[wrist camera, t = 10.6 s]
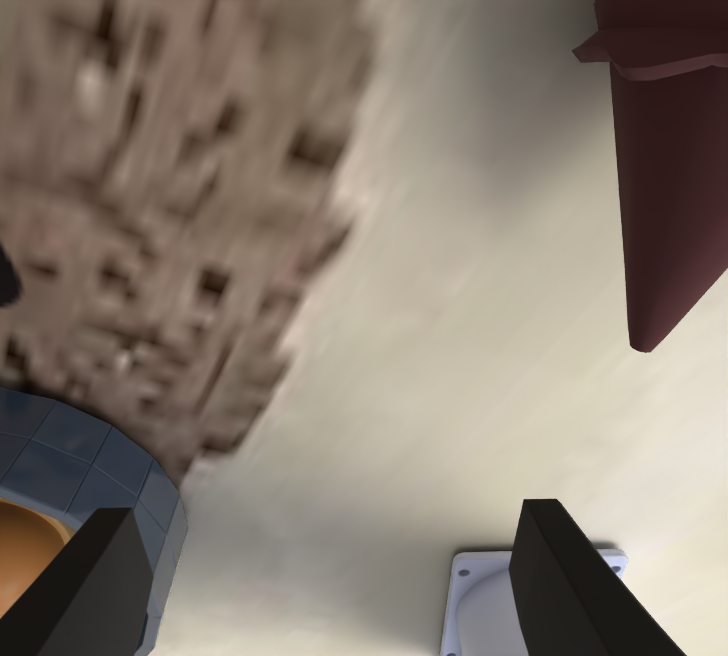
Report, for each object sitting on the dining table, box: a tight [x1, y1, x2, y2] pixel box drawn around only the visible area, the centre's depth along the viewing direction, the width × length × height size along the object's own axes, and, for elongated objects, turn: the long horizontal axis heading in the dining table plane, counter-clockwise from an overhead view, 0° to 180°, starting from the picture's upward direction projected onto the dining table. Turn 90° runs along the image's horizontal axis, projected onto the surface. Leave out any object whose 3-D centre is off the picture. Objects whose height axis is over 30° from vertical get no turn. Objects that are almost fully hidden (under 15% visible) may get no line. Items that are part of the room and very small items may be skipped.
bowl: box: [0, 388, 188, 656], centre depth 21 cm, size 13×13×4 cm
